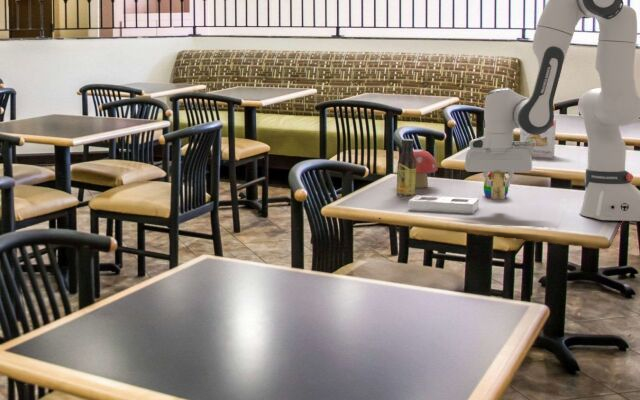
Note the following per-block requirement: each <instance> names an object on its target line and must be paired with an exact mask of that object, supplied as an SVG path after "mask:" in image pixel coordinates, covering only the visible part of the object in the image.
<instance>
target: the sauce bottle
mask: <svg viewBox="0 0 640 400" xmlns="http://www.w3.org/2000/svg"><path fill="white" fill-rule="evenodd" d="M414 144H415V140H414V139H412V138H402V139H401V153H400V155H399V157H398V158H399V159H398V161H397V167H396V169H397V173H396V195H397V196H399V195H401V196H400V197H412V196H413V195H414V196H415V195H416V188H415V180H416V159H415V157H414V155H413V150H414ZM414 196H413V197H414Z"/></svg>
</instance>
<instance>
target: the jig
mask: <svg viewBox="0 0 640 400" xmlns="http://www.w3.org/2000/svg"><path fill="white" fill-rule="evenodd" d="M478 209H479V198H477V197H461V196H460V197H459V196H458V197H457V196H455V197H454V196H437V195H418V194H415V195H414V196H413V197H412V198H411V199H409V200H408V211H415V212H429V213H430V212H431V213H433V212H434V213H448V214H449V213H450V214H469V215H472V214H474V213H475V212H476V211H477V210H478Z"/></svg>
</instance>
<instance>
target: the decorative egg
mask: <svg viewBox="0 0 640 400" xmlns="http://www.w3.org/2000/svg"><path fill="white" fill-rule="evenodd" d="M487 176H488V178H489V180H492V172H489V173H488V175H487ZM505 181H508V178H507V177H506V175H505ZM483 193H484V196H485V197H486V198H489V199H492V187H488V186H487V181H486V180H484V182H483ZM508 193H509V187H505V198H506V197H507V196H508Z"/></svg>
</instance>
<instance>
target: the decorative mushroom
mask: <svg viewBox="0 0 640 400" xmlns="http://www.w3.org/2000/svg"><path fill="white" fill-rule="evenodd" d="M413 155H414V157H415V159H416V180H415V189H425V188H427V187H428V186H429V185H428V184H429V183H428V182H429V181H428V174H432V173H435V172H437V171H438V164H437V160H436V159H435V157H434V155H432V154H431V153H430V152H429V151H426V150H425V149H418V148H417V149H413Z"/></svg>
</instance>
